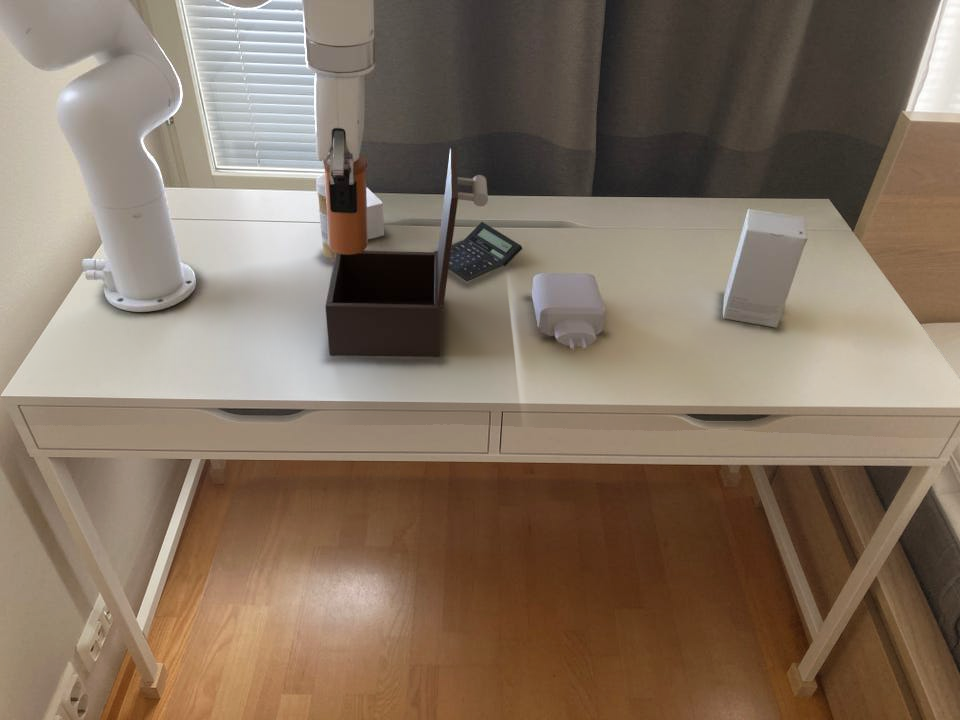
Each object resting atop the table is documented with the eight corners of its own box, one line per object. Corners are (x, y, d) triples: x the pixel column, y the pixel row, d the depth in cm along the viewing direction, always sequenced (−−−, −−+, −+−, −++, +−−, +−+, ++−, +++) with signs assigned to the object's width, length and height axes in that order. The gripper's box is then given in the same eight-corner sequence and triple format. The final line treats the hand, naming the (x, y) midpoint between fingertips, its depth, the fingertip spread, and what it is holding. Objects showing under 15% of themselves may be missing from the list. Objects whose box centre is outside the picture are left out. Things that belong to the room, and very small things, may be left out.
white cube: (335, 227, 133) (333, 194, 130) (368, 219, 136) (367, 187, 132) (350, 243, 130) (348, 210, 126) (384, 235, 132) (383, 202, 128)
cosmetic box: (777, 306, 122) (808, 216, 112) (777, 331, 117) (810, 239, 107) (721, 295, 123) (748, 205, 114) (719, 319, 119) (747, 227, 109)
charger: (543, 362, 109) (531, 298, 120) (609, 362, 109) (591, 299, 121) (546, 334, 106) (534, 272, 117) (615, 334, 106) (595, 273, 118)
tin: (325, 254, 101) (320, 169, 94) (330, 233, 105) (325, 149, 98) (366, 256, 102) (365, 171, 94) (369, 234, 106) (368, 151, 98)
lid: (451, 197, 92) (492, 201, 93) (450, 147, 102) (487, 151, 103) (437, 305, 102) (474, 308, 102) (437, 249, 112) (471, 252, 113)
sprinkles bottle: (356, 259, 126) (352, 181, 118) (329, 266, 124) (323, 188, 115) (343, 246, 129) (338, 169, 120) (317, 253, 127) (310, 175, 118)
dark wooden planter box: (329, 359, 107) (325, 306, 101) (339, 300, 117) (336, 249, 112) (439, 361, 108) (440, 308, 102) (439, 303, 118) (440, 252, 112)
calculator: (428, 258, 127) (428, 242, 125) (482, 236, 134) (483, 220, 132) (466, 285, 122) (467, 268, 120) (521, 260, 128) (522, 244, 126)
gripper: (315, 25, 94) (323, 167, 106) (295, 78, 81) (307, 234, 93) (379, 29, 95) (380, 170, 106) (369, 83, 82) (372, 236, 93)
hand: (346, 198), depth 99 cm, fingers closed on tin, 5 cm apart
